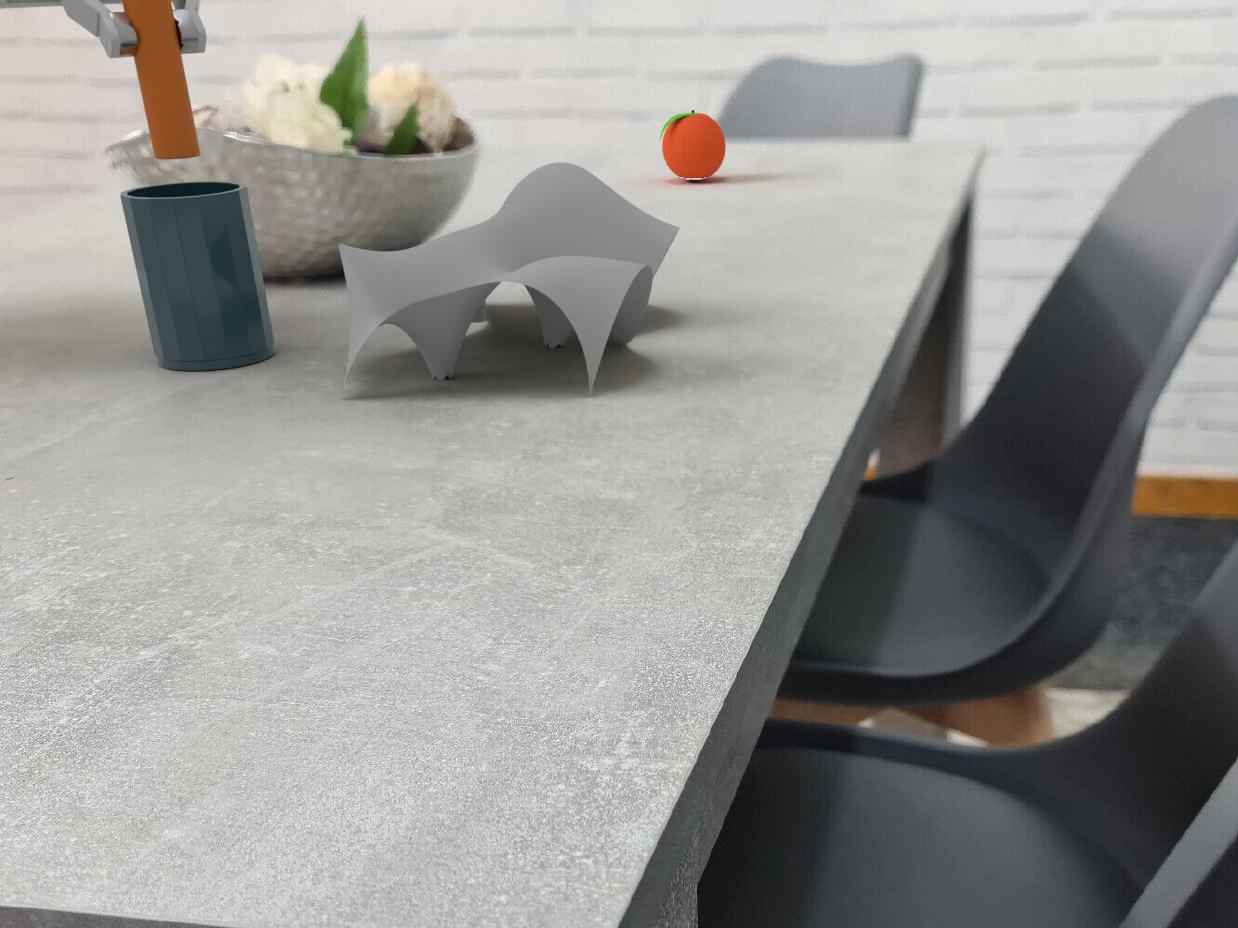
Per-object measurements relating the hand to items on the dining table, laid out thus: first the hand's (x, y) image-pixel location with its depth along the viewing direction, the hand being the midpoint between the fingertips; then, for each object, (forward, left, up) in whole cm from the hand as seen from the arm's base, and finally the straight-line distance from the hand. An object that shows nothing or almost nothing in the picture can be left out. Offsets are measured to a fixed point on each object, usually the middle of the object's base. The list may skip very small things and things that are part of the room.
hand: (160, 47), depth 82 cm
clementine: (+52, +62, -18) cm, 82 cm away
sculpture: (+19, -5, -18) cm, 26 cm away
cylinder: (0, +1, -6) cm, 6 cm away
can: (0, +1, -18) cm, 18 cm away
